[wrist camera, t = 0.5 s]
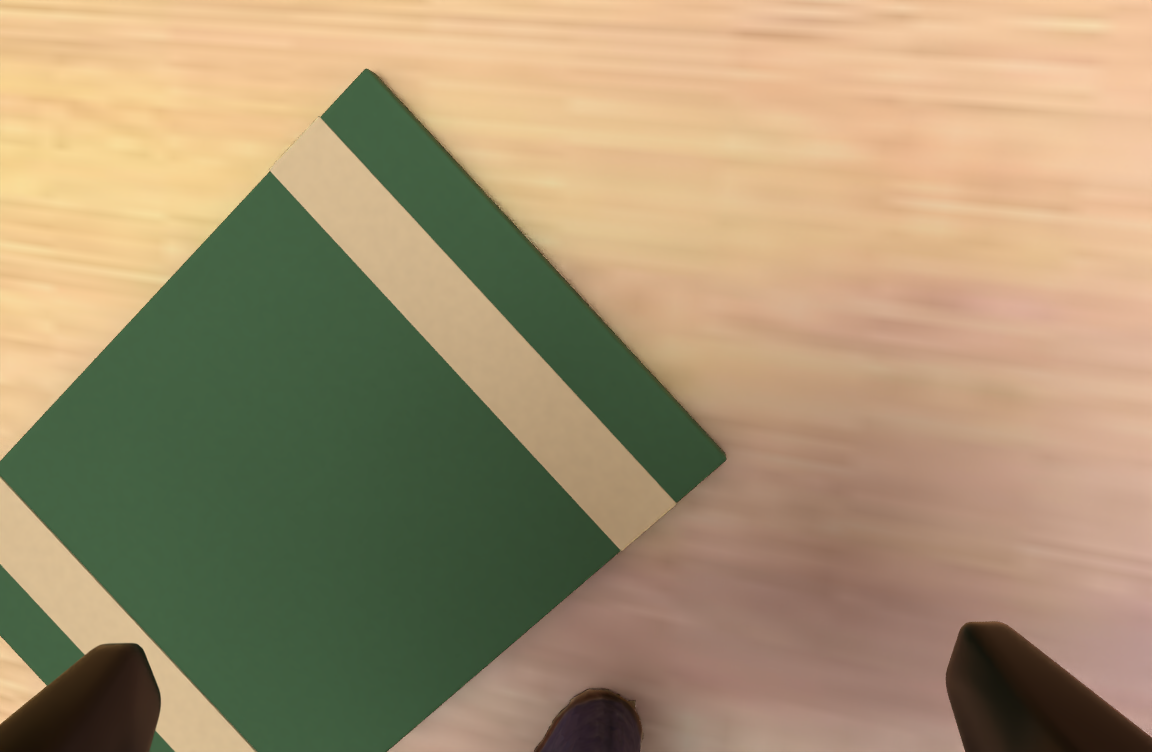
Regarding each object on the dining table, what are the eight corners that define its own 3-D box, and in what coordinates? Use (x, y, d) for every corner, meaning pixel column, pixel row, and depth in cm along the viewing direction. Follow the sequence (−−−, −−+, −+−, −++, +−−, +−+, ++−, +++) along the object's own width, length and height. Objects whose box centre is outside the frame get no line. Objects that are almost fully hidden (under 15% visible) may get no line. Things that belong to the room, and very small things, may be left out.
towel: (726, 454, 23) (727, 459, 22) (242, 871, 26) (230, 886, 26) (373, 72, 23) (364, 66, 22) (-66, 542, 26) (-85, 549, 25)
